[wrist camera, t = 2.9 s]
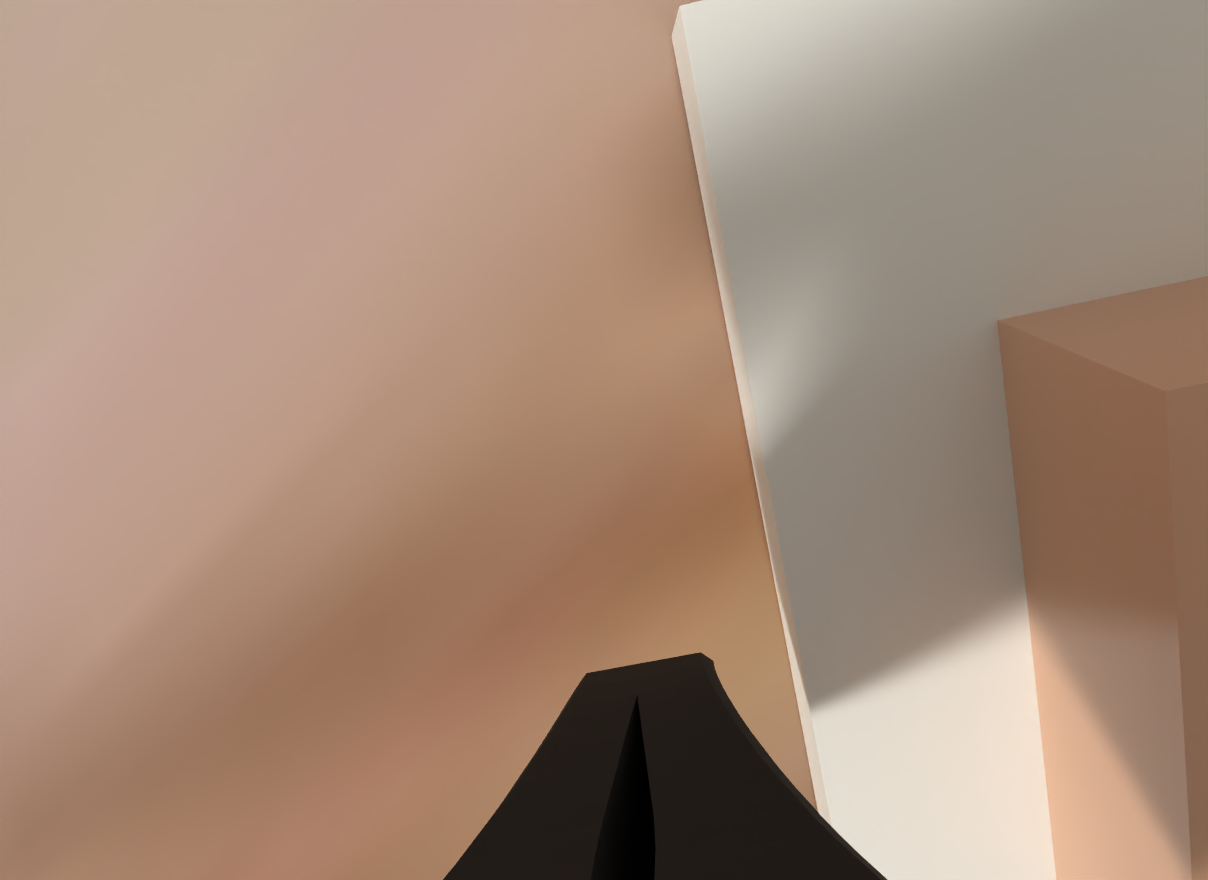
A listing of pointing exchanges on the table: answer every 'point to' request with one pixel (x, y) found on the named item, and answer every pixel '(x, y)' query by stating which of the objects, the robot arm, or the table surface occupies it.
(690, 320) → the table surface
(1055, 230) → the board
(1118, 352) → the brick
